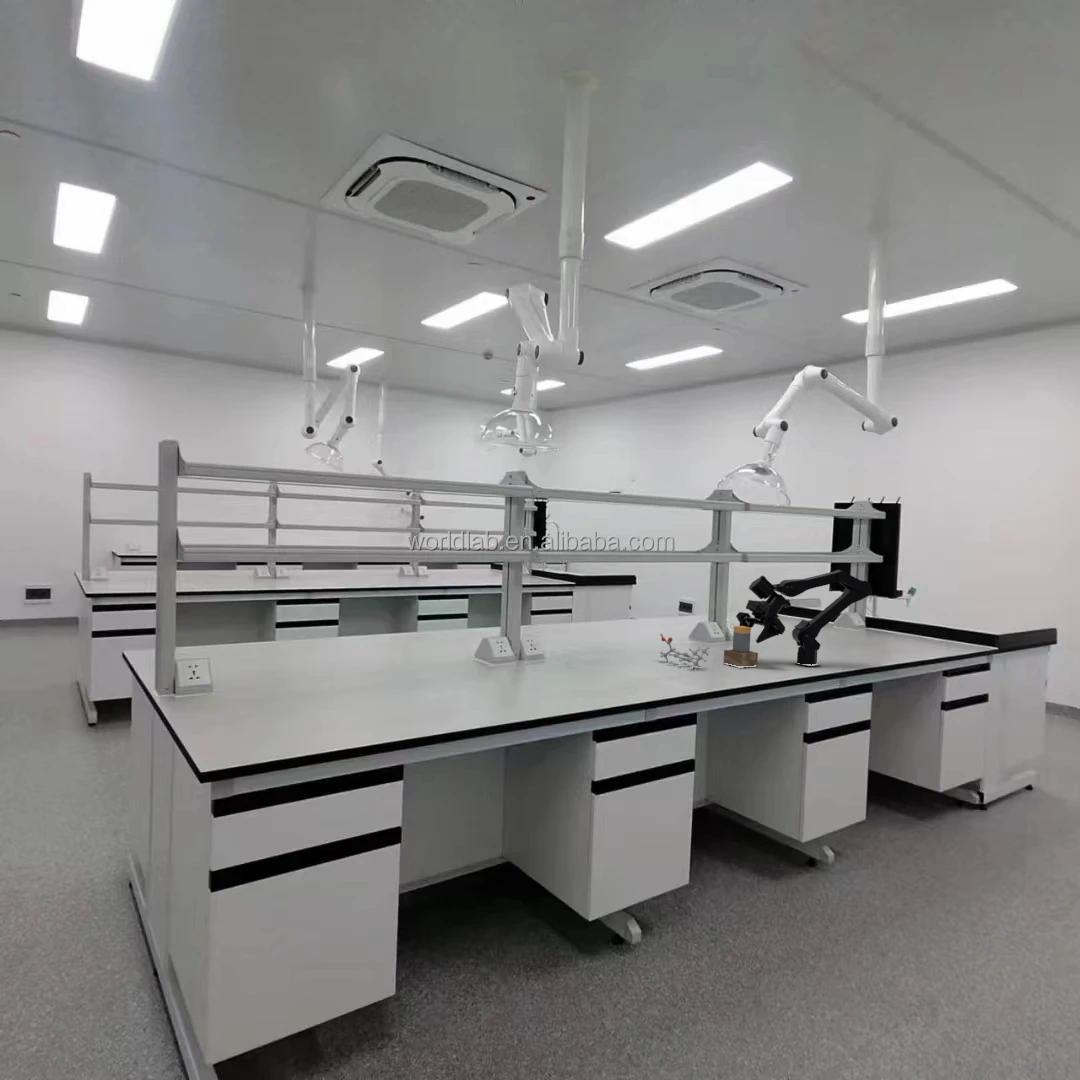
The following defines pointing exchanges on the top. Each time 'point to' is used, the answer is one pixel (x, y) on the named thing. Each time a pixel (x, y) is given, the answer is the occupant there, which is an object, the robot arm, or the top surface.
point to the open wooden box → (740, 658)
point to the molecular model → (689, 658)
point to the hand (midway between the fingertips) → (747, 640)
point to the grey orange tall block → (741, 639)
